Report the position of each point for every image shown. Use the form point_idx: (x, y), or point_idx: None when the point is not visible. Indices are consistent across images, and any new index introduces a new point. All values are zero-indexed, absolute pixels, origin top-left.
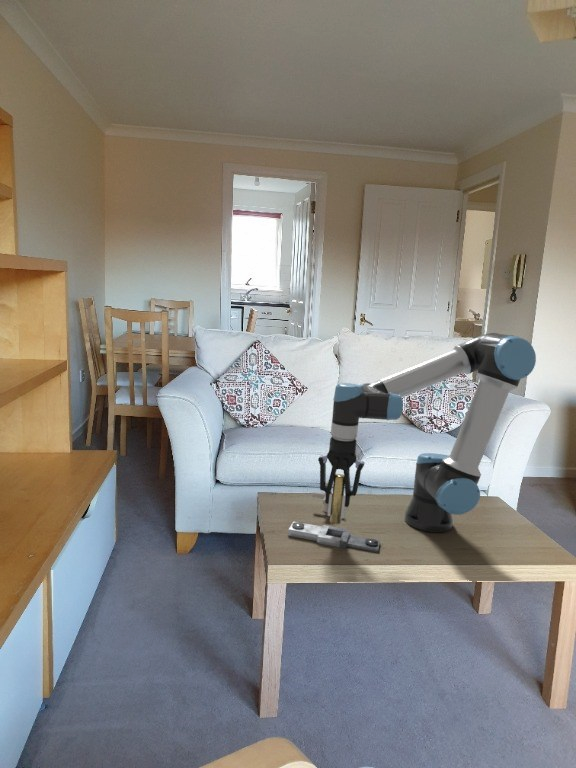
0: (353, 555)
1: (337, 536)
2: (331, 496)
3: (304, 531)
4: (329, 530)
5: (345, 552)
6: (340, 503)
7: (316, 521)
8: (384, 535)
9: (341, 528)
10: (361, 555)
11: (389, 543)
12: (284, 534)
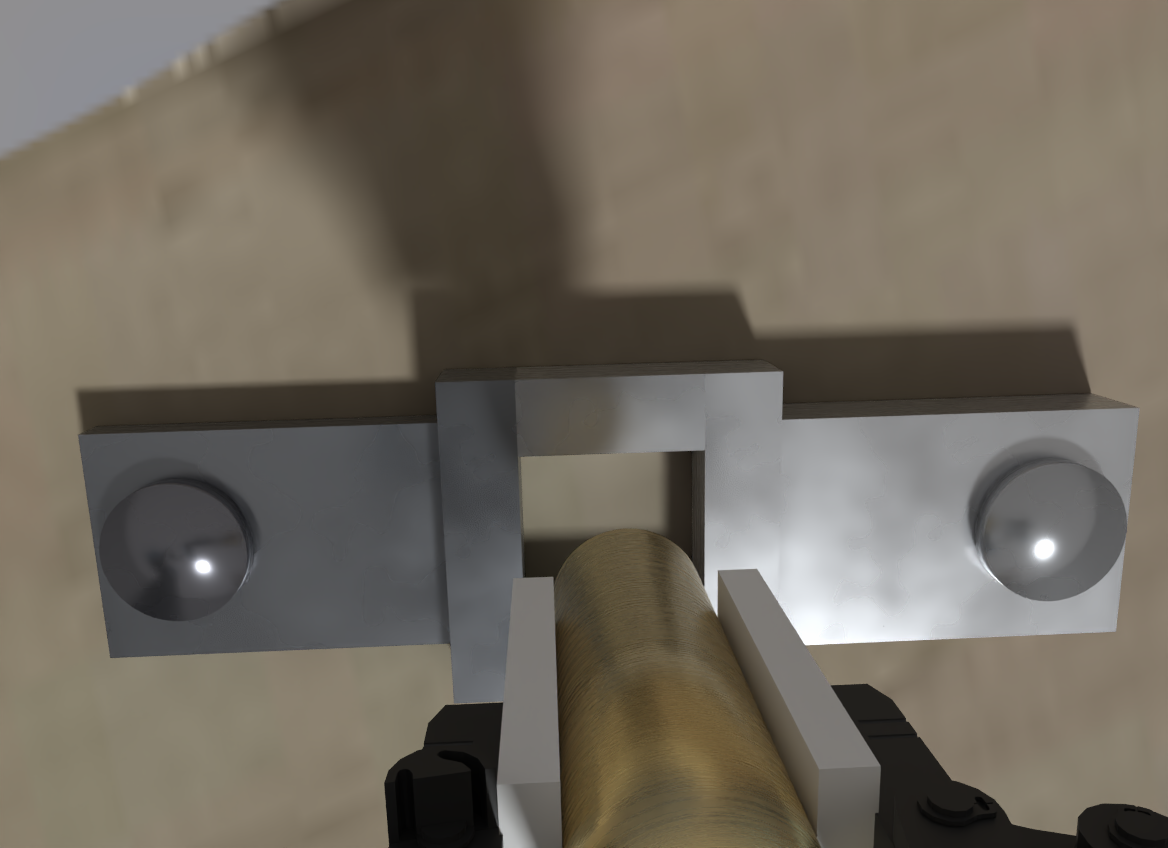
0: (330, 243)
1: None
2: (816, 745)
3: (952, 431)
4: None
5: (427, 276)
6: (589, 700)
7: None
8: (124, 843)
9: None
10: (249, 282)
11: (33, 688)
12: None
